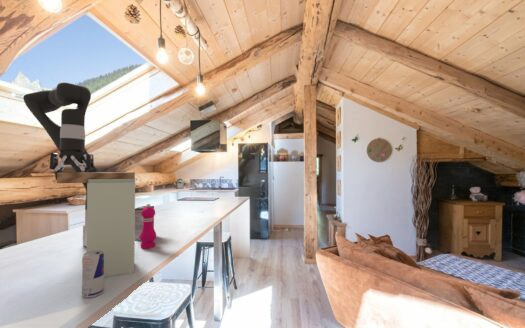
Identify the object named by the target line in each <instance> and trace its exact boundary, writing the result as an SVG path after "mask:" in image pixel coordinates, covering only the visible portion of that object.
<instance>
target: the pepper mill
mask: <svg viewBox="0 0 525 328" xmlns="http://www.w3.org/2000/svg"><path fill="white" fill-rule="evenodd" d="M145 206H146V208H144V209H143V210H142V212H141V215H142V216H143V218H142V219H143V220H142V221H143V229H142V232H141V234H140V240H139V241H140V242H141V243H140V248H141V249H143V250H144V249H145V250H146V249H153V248H155V246H156V239H157V232H156V230H155V226H154V227H153V221H154V222H155V216H156V210H155V207H154V208H152V207H150V206H151V204H150V203H147V204H146V205H145ZM153 216H154V217H153Z"/></svg>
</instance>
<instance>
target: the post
mask: <svg viewBox="0 0 525 328" xmlns="http://www.w3.org/2000/svg"><path fill="white" fill-rule="evenodd" d="M135 209H136V181H135V182H134V179H88V183H87V247H86V253H87V252H91V251H103V253H104V278H106V277H113V276H119V275H124V274H125V275H126V274H133V273H134V271H135V270H134V269H135V255H136V253H135V250H136V249H135V247H136V246H135V241H136V240H135Z"/></svg>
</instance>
